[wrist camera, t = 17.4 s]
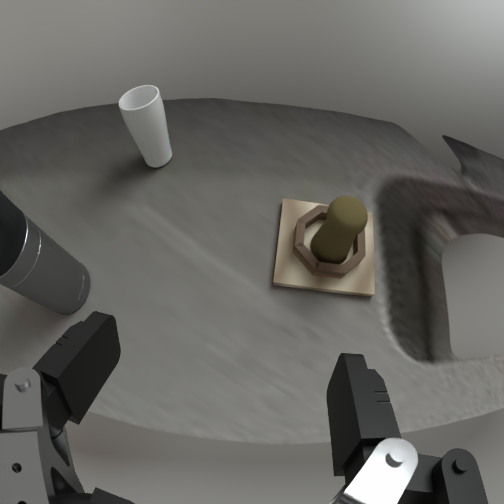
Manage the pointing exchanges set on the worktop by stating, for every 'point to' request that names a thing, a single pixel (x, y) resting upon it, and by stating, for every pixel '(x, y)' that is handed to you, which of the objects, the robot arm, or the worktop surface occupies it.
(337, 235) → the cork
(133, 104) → the drinking glass
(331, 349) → the worktop surface
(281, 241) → the board
